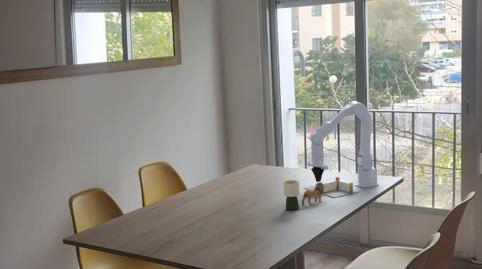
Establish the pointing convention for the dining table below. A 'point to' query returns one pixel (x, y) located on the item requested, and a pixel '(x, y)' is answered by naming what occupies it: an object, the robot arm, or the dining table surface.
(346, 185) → the fixed fence panel
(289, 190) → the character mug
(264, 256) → the dining table surface
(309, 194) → the lion figurine
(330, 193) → the card
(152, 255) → the dining table surface
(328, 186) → the hinged fence panel
